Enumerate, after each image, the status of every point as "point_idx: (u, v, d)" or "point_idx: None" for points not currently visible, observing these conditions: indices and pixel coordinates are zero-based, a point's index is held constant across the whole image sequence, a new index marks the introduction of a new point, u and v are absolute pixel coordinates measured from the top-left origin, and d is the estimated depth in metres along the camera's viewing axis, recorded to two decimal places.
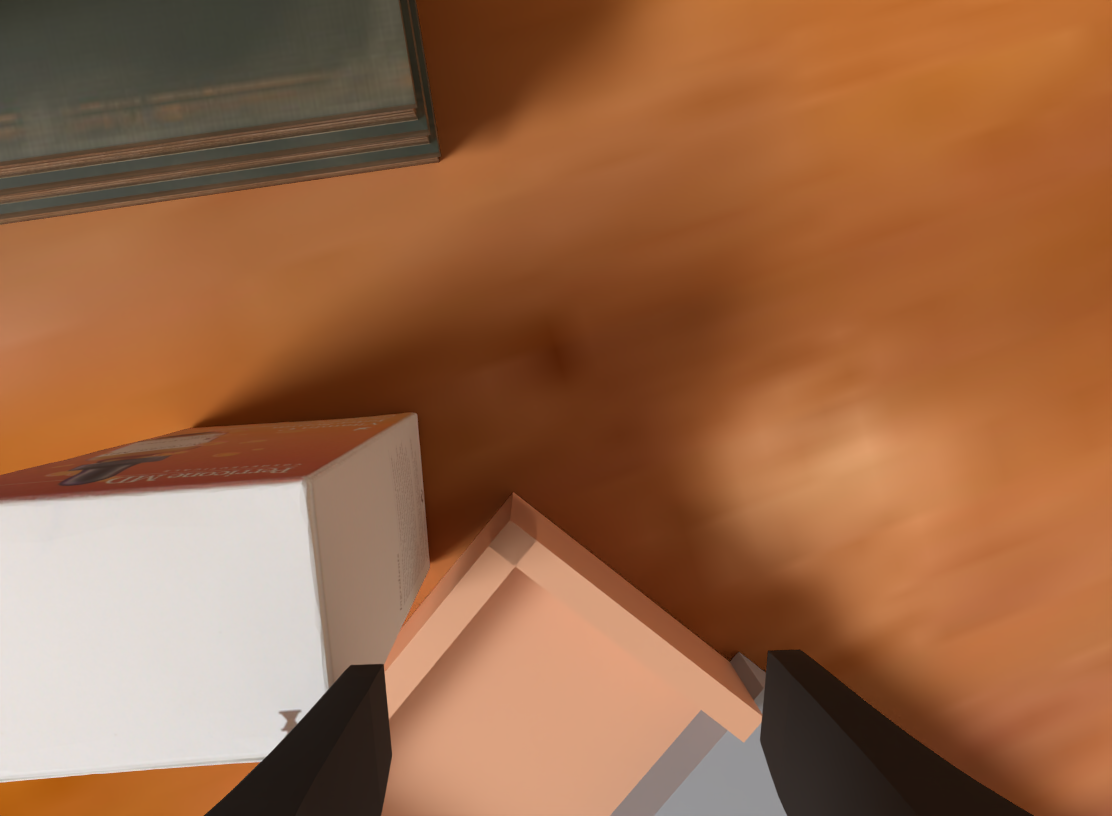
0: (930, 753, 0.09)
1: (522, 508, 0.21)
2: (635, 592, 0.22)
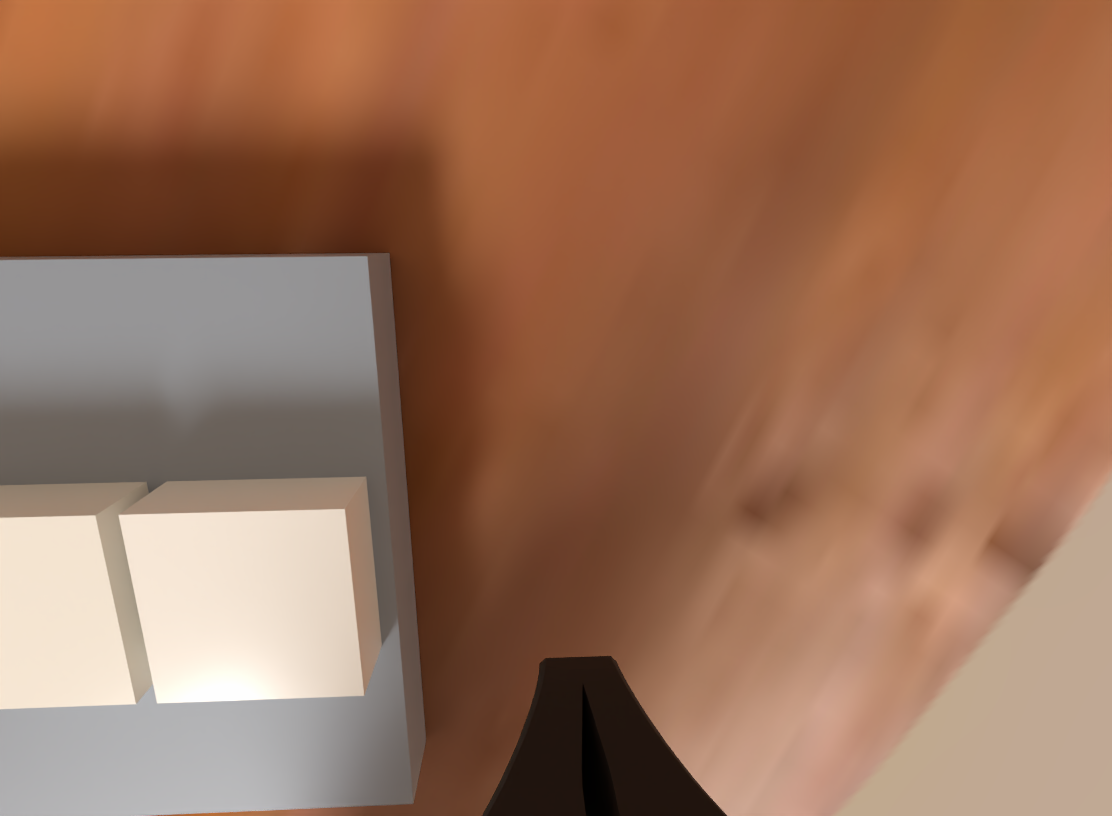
0: (674, 763, 0.09)
1: None
2: None
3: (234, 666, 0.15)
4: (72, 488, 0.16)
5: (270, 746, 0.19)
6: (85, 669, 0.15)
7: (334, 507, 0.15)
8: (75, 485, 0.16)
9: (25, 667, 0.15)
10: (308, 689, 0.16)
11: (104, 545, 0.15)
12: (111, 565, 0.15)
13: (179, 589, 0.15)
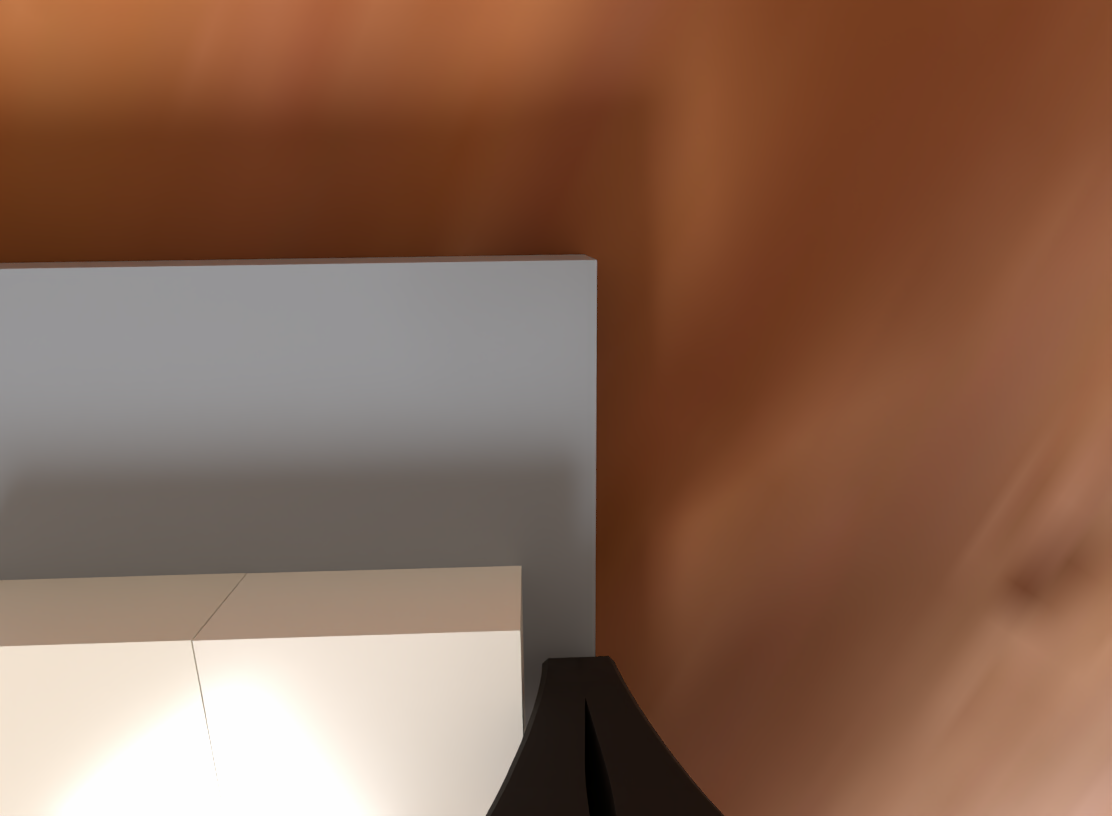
0: (671, 764, 0.09)
1: None
2: None
3: None
4: (145, 585, 0.11)
5: None
6: None
7: (503, 626, 0.10)
8: (149, 579, 0.12)
9: None
10: None
11: None
12: None
13: (276, 741, 0.10)
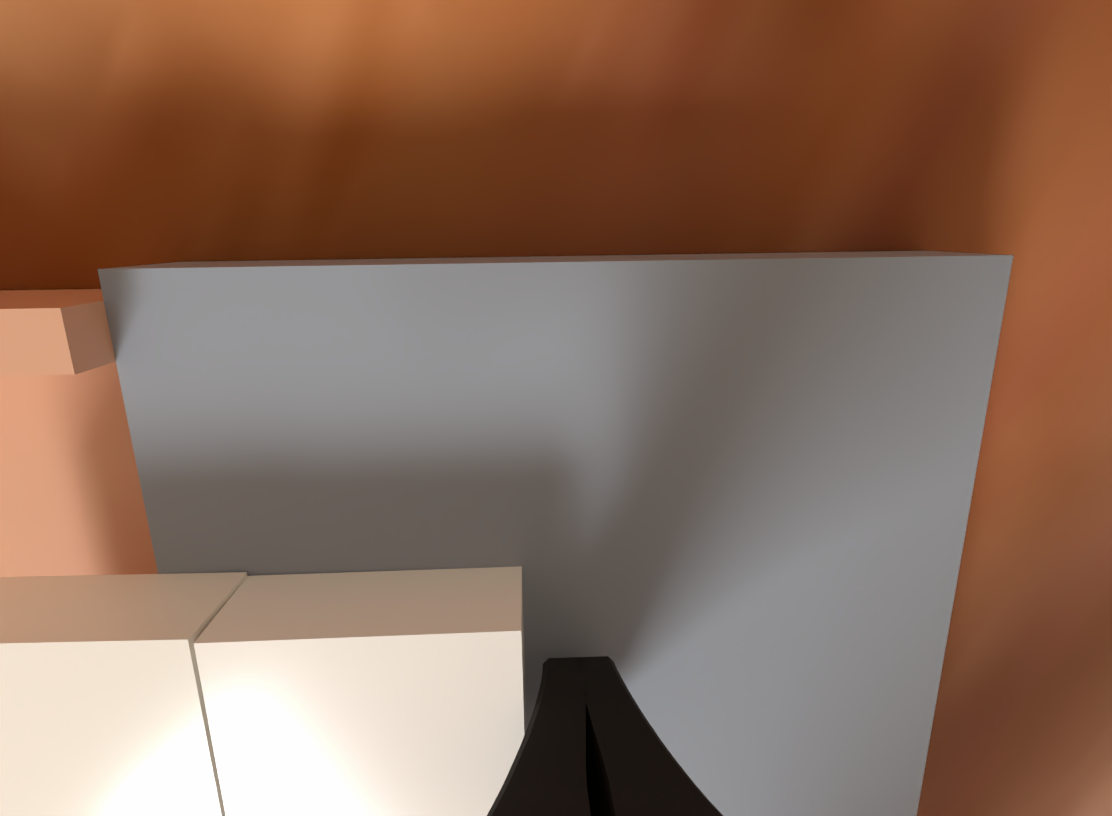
0: (670, 763, 0.09)
1: None
2: None
3: None
4: (147, 583, 0.11)
5: None
6: None
7: (504, 627, 0.10)
8: (150, 577, 0.12)
9: None
10: None
11: (199, 678, 0.10)
12: None
13: (277, 743, 0.10)
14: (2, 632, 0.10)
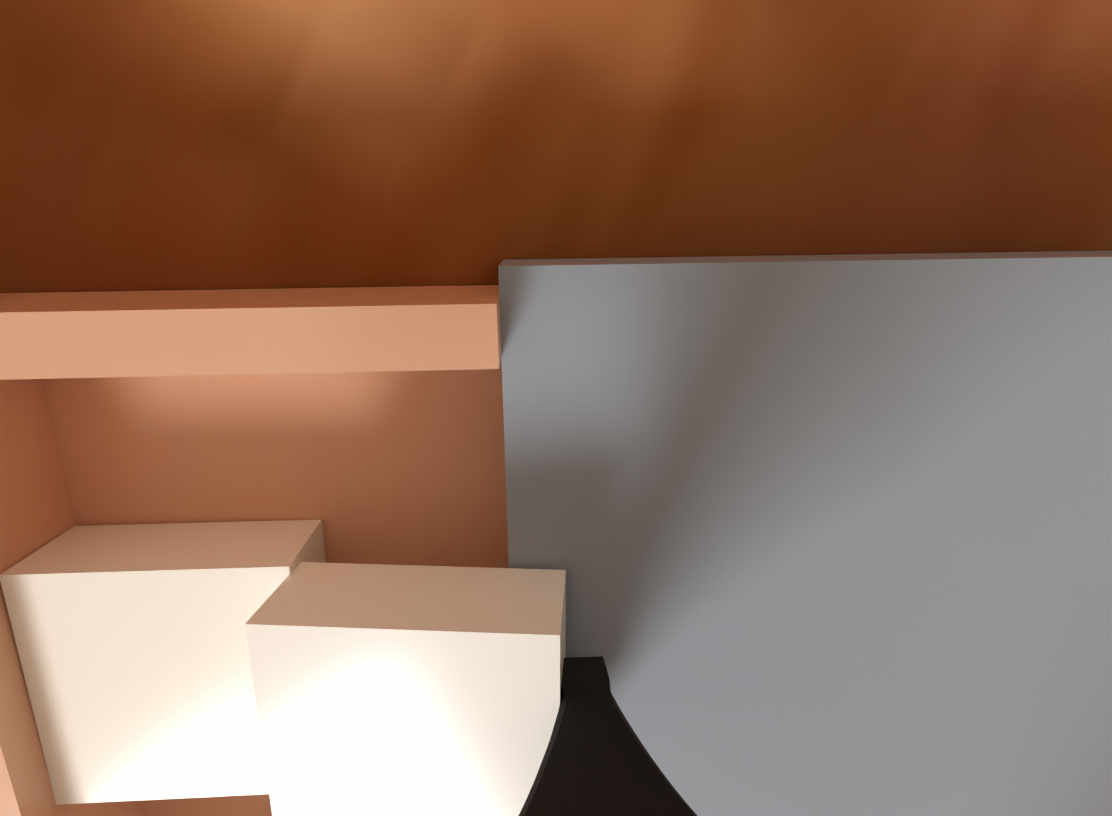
0: (648, 764, 0.09)
1: None
2: (261, 291, 0.12)
3: None
4: (236, 528, 0.13)
5: None
6: (259, 750, 0.13)
7: (543, 630, 0.10)
8: (237, 524, 0.13)
9: (186, 750, 0.12)
10: None
11: None
12: None
13: (319, 727, 0.11)
14: (124, 563, 0.12)
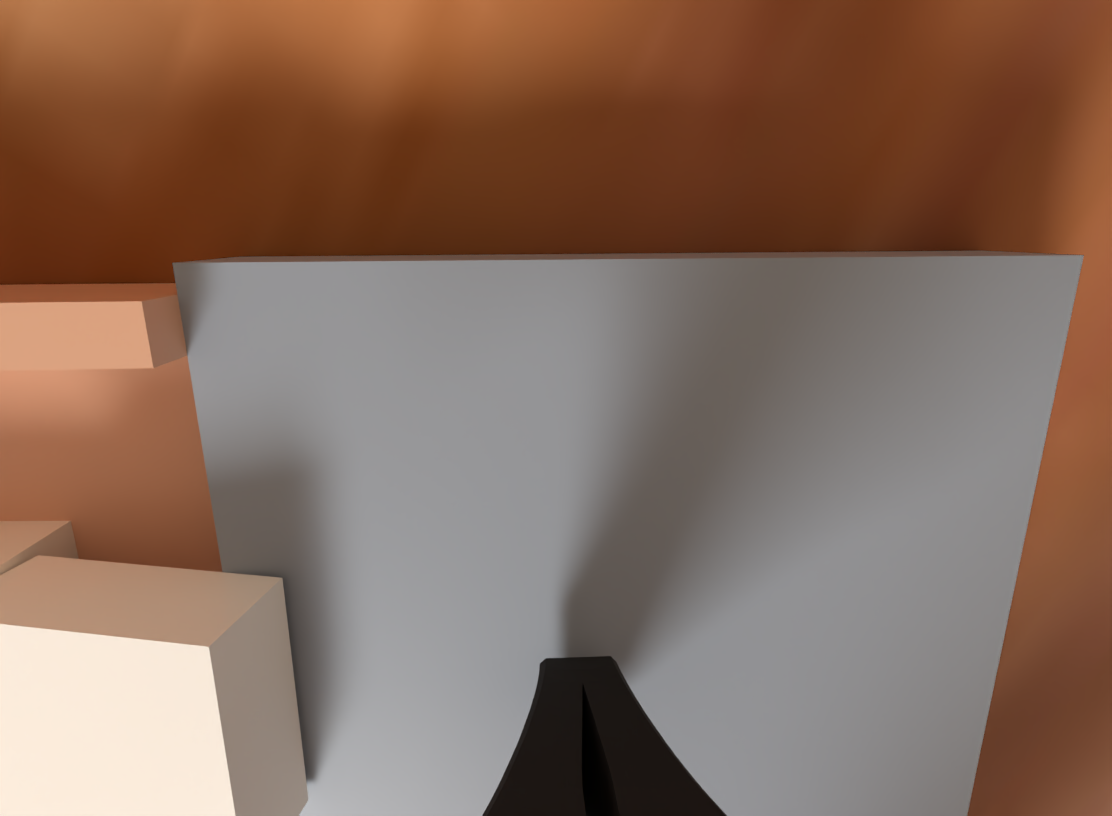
0: (674, 764, 0.09)
1: None
2: None
3: None
4: None
5: None
6: None
7: (197, 640, 0.10)
8: None
9: None
10: None
11: None
12: None
13: (6, 721, 0.11)
14: None
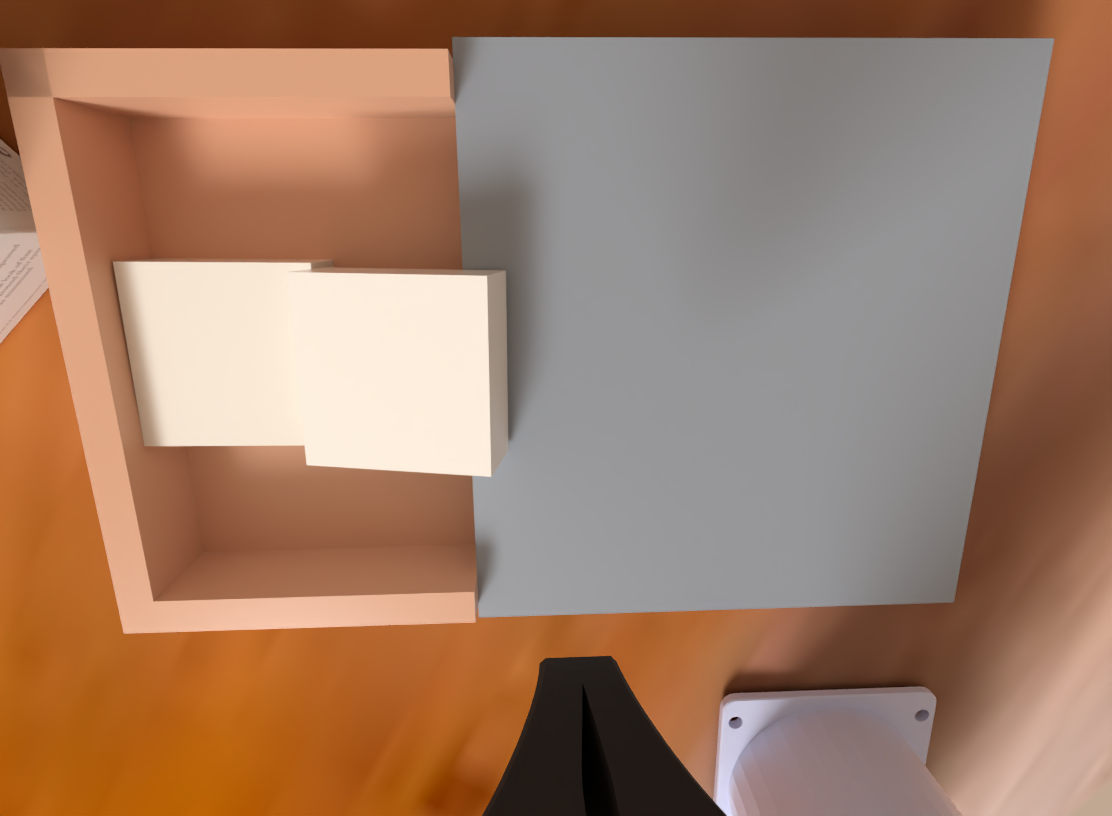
0: (674, 763, 0.09)
1: None
2: None
3: (375, 433, 0.16)
4: (272, 259, 0.18)
5: (839, 541, 0.20)
6: (287, 409, 0.18)
7: (477, 274, 0.15)
8: (272, 259, 0.18)
9: (236, 406, 0.18)
10: (439, 465, 0.16)
11: None
12: None
13: (333, 351, 0.16)
14: (197, 261, 0.17)
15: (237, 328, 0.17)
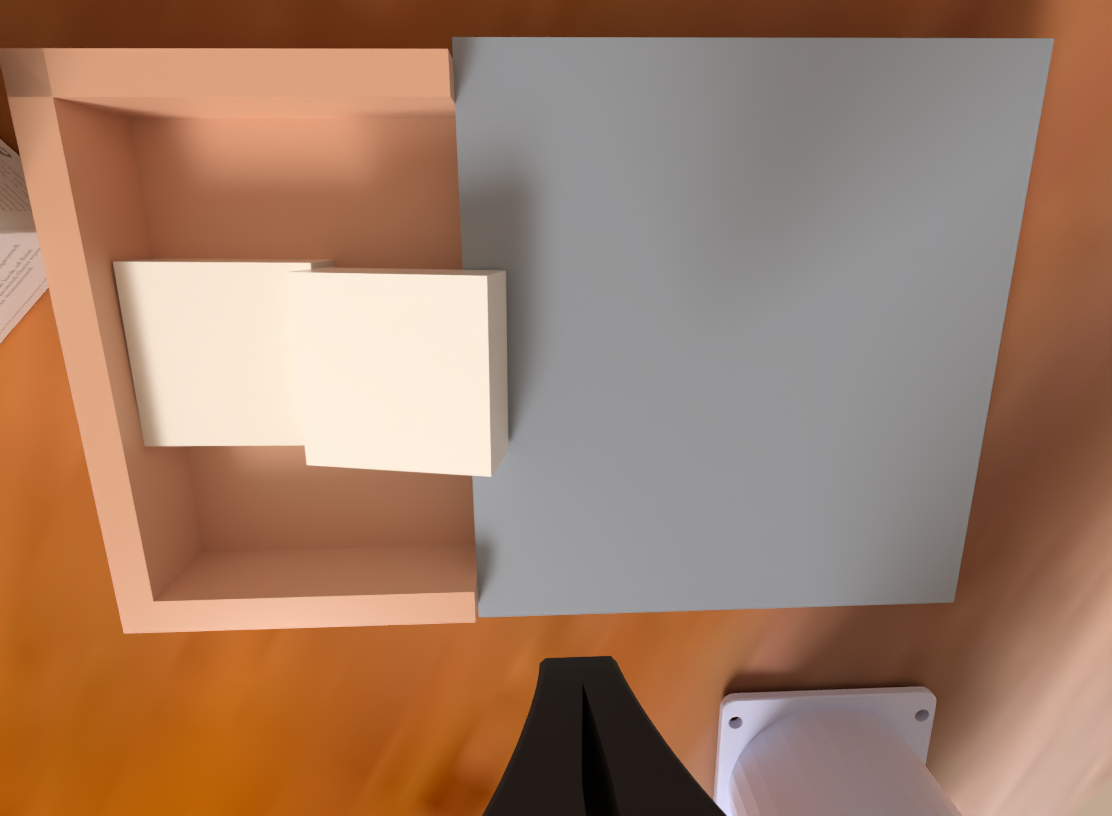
0: (674, 763, 0.09)
1: None
2: None
3: (375, 433, 0.16)
4: (272, 259, 0.18)
5: (839, 541, 0.20)
6: (287, 409, 0.18)
7: (477, 274, 0.15)
8: (272, 259, 0.18)
9: (236, 406, 0.18)
10: (439, 465, 0.16)
11: None
12: None
13: (333, 351, 0.16)
14: (197, 261, 0.17)
15: (237, 328, 0.17)
